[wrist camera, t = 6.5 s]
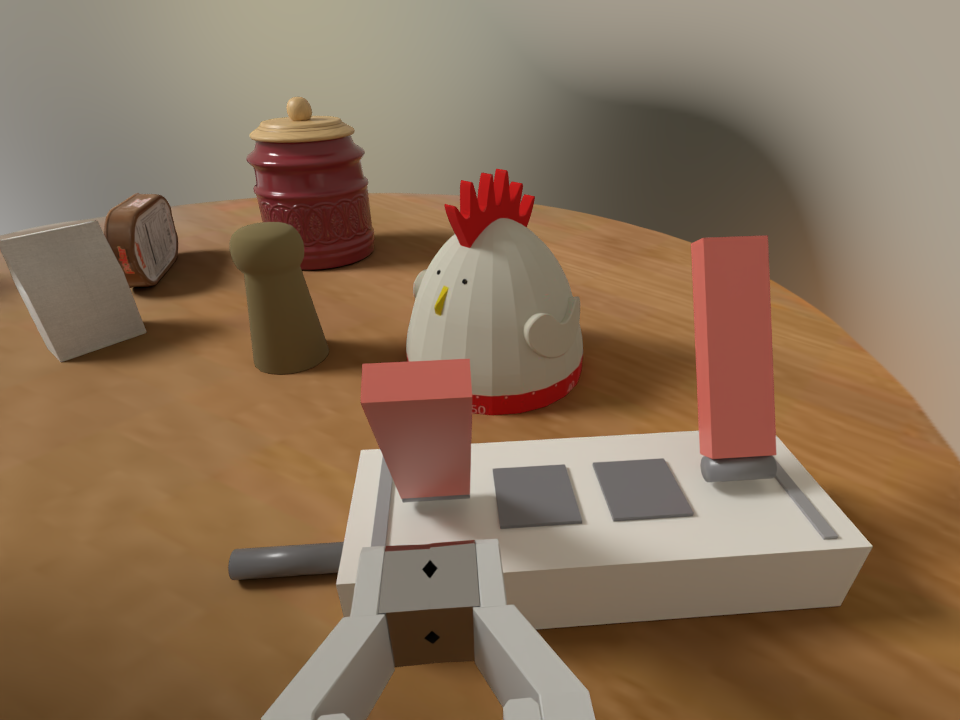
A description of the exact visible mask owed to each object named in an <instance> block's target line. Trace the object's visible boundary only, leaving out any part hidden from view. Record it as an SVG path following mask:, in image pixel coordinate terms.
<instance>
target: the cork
mask: <svg viewBox="0 0 960 720" xmlns="http://www.w3.org/2000/svg"><path fill="white" fill-rule="evenodd" d="M230 253H231V256H232V259H233V262H234V263H235V265H236V267H237V268H238V269H239V270H240V271H241V272H242V273H244V277H245V286H246V295H247V304H248V313H249V322H250V331H251V340H252V349H253V358H254V364H255V367H256V368H258V369H259V370H260V371H262V372H265V373H269V374H280V375H282V374H292V373H297V372H301V371H305V370H307V369H310V368H312V367H314V366H316V365H318V364H319V363H321V362H322V361H323V360H324V359H325V358H326V357H327V355H328V352H329V348H328V345H327V342H326V339H325V336H324V333H323V330H322V328H321V325H320V322H319V319H318V316H317V313H316V310H315V307H314V305H313V302H312V299H311V296H310V293H309V290H308V287H307V284H306V281H305V279H304V276H303V273H302V270H301V267H300V265H301V263H302V260H303V258H304V244H303V240H302V238H301V236H300V234H299V233H298V231H297V230H296V229H295V228H294V227H293V226H291V225H288V224H286V223H281V222H262V223H256V224H251V225H247V226H245V227H242V228H240V229H238V230H237V231H236V232H234V234H233V235H232V237H231V240H230Z"/></svg>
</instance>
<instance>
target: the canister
mask: <svg viewBox="0 0 960 720" xmlns="http://www.w3.org/2000/svg"><path fill="white" fill-rule="evenodd" d="M287 113H288V116H289V117H284V118H276V119H269V120H265V121H262V122H261V123H260V126H259V127H258V128H257V129H255V130H254V131H253V132H251V133H250V138H251V139H252V140H255V141H256V144H255V149H254V150H253V151H252V152H251V153H250V154H249V155H248V156H247V162H248V163H249V164H250V165H252V166H253V167H254V170H255V175H256V185H255V186H254V193H255V194H256V195H257V199H258V204H259V208H260V212H261V217H262V221H263V222H281V223H286V224H288V225H291V226H293V227H294V228H295V229H296V230H297V231H298V233H299V234H300V236H301V238H302V240H303V244H304V258H303V260H302V263H301V265H300V267H301V270H316V269H327V268H334V267H340V266H344V265H348V264H351V263H354V262H357V261H360V260H362V259H364V258H366V257H367V256H369V255H370V254H371V253H372V252H373V250H374V240H375V236H374V229H373V227H372V222H371V214H370V206H369V198H368V190H367V185H368V179H367V178H366V177H365V176H364V175H363V171H362V166H361V159H362V157H363V156H364V154H365V152H364V150H363V149H362V148H361V147H359V146H358V145H356V144H355V143H354V142H353V140H352V138H351V136H350V135H352V134H353V133H354V128H352V127H351V126H349V125H347V124H345V123H344V122H342V121H341V119H339V118H337V117H331V116H311V115H312V109H311V106H310V104H309V103H308V101H307V100H306V99H304V98H302V97H293V98H291V99H290V100H289V101H288V103H287Z"/></svg>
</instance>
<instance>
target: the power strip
mask: <svg viewBox="0 0 960 720" xmlns="http://www.w3.org/2000/svg"><path fill="white" fill-rule="evenodd" d="M772 456H773V457H774V459H775V461H776V465H777V473H776V476H775V477H774V478H772V479H756V480H740V481H725V482H706V481H705V480H704V478H703V476H702V473H701V467H700V464H701V459H702V457H704V455H701V454H700V443H699V431H686V432H669V433H651V434H634V435H617V436H599V437H582V438H565V439H548V440H530V441H513V442H496V443H478V444H471V475H470V498H468V499H453V500H437V501H421V502H405V503H403V502H402V499H401V497H400V495H399V493H398V490H397V488H396V485H395V483H394V481H393V478H392V476H391V474H390V471H389V469H388V467H387V464H386V462H385V459H384V457H383V455H382V452H381V450H380V449H375V450H361V454H360V459H359V464H358V470H357V475H356V480H355V486H354V491H353V496H352V502H351V507H350V512H349V518H348V523H347V529H346V534H345V539H344V542H335V543H320V544H305V545H290V546H275V547H260V548H246V549H235V550H234V551H233V552H232V554H231V556H230V560H229V576H230V578H231V579H232V580H242V579H256V578H270V577H285V576H299V575H313V574H328V573H338V577H337V582H336V586H337V591H338V595H339V599H340V603H341V607H342V611H343V615H344V617H350V615H351V608H352V602H353V595H354V589H355V582H356V576H357V569H358V562H359V556H360V552H361V550H362V547H377V546H396V545H420V544H431V543H440V542H452V541H465V540H484V539H498V541H499V544H500V552H501V560H502V568H503V575H504V583H505V591H506V599H507V605H515V606H516V607H517V609H518V610H519V611H520V612H521V613H522V614H523V616H524V617H525V618H526V619H527V620H528V621H529V623H530V624H531V625H532V626H533V627H534V628H535V629H548V628H561V627H574V626H587V625H600V624H612V623H625V622H638V621H651V620H664V619H677V618H690V617H703V616H716V615H729V614H742V613H755V612H768V611H781V610H794V609H807V608H820V607H833V606H841V604H842V602H843V600H844V598H845V596H846V595H847V593H848V591H849V589H850V587H851V586H852V584H853V582H854V580H855V578H856V576H857V575H858V573H859V571H860V569H861V567H862V565H863V564H864V562H865V560H866V558H867V556H868V554H869V553H870V551H871V549H872V547H873V546H872V545H871V544H870V542H869V541H868V540H867V539H866V538H865V537H864V536H863V534H862V533H861V532H860V531H859V530H858V529H857V528H856V526H855V525H854V524H853V523H852V522H851V521H850V520H849V518H848V517H847V516H846V515H845V514H844V513H843V512H842V510H841V509H840V508H839V507H838V506H837V505H836V504H835V502H834V501H833V500H832V499H831V498H830V497H829V496H828V494H827V493H826V492H825V491H824V490H823V489H822V487H821V486H820V485H819V484H818V483H817V482H816V481H815V479H814V478H813V477H812V476H811V475H810V474H809V473H808V471H807V470H806V469H805V468H804V467H803V466H802V465H801V463H800V462H799V461H798V460H797V459H796V458H795V457H794V455H793V454H792V453H791V452H790V451H789V450H788V449H787V447H786V446H785V445H784V444H783V443H782V442H781V441H780V439H779V438H778V437H777V436H776V455H772Z"/></svg>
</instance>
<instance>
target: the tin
mask: <svg viewBox="0 0 960 720" xmlns="http://www.w3.org/2000/svg"><path fill="white" fill-rule="evenodd" d="M104 236H105V238H106V239H107V241H108V243H109V245H110V247H111V249H112V251H113V253H114V255H115V257H116V259H117V261H118V263H119V264H120V266H121V268H122V270H123V272H124V275H125V277H126V280H127V283H128V285H129V288H132V287H146V286H153V285H155V284H157V283H158V281H159V280H160V279H161V278H162V277H163V275H164V274H165V273H166V272H167V271H168V269H169V268H170V267H171V266H172V264H173V263H174V262H175V260H176V258H177V254H178V236H177V233H176V230H175V226H174V221H173V217H172V213H171V207H170V205H169V203H168V201H167V200H166V199H165V198H164V197H163V196H161V195H156V194H139V193H137V194H134V195H132V196H131V197H129V198H128V199H126V200H125V201H123V202H122V203H120V204H118V205H117V206H115V207H114V208H112V209H111V210H110V211H109V212H108V214H107V216H106V219H105V226H104Z"/></svg>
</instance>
